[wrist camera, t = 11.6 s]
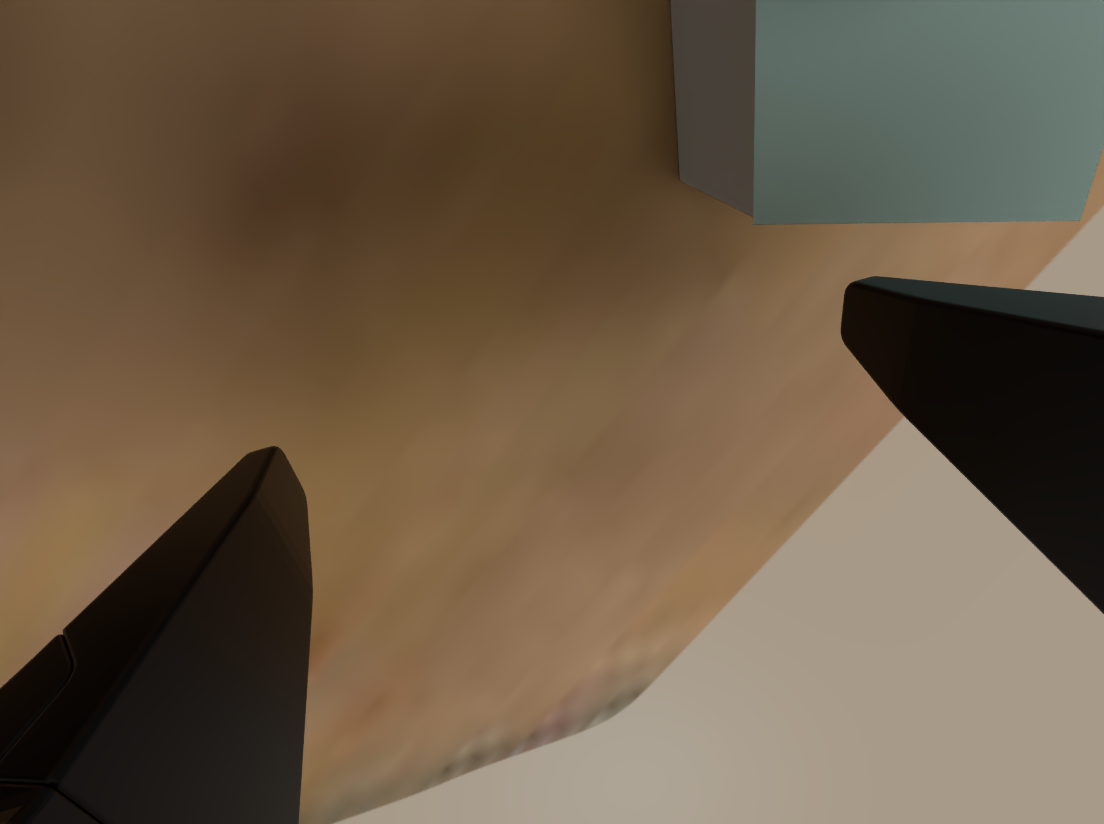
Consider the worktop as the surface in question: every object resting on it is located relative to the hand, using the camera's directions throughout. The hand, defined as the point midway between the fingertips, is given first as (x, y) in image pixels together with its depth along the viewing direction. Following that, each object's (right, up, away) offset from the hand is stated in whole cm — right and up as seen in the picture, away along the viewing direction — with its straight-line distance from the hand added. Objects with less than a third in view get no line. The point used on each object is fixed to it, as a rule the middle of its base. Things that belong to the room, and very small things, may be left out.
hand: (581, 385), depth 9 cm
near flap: (+7, +10, +2) cm, 12 cm away
